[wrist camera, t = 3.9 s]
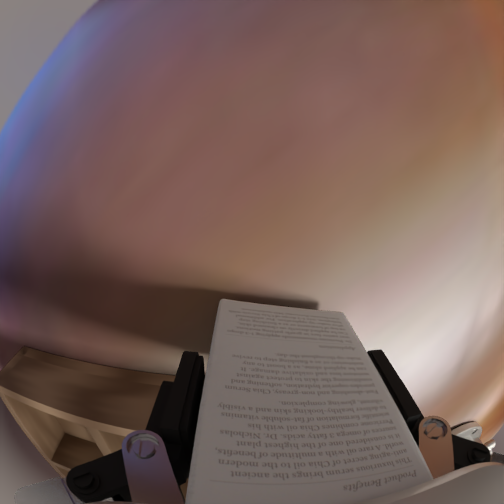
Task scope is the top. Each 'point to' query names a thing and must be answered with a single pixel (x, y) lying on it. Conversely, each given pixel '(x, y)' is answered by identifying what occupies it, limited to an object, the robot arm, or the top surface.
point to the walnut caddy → (76, 405)
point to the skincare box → (296, 414)
